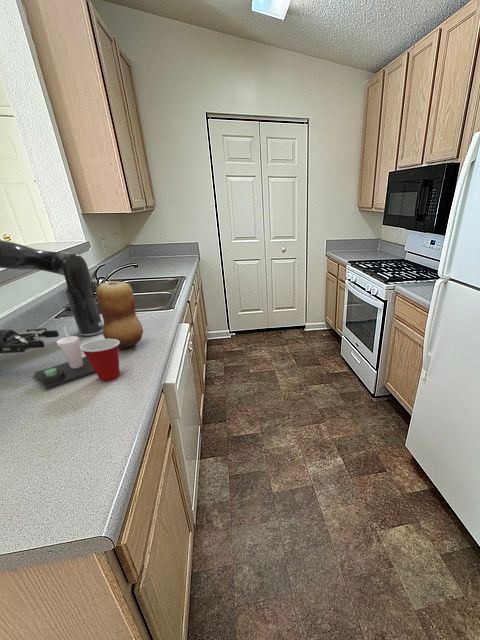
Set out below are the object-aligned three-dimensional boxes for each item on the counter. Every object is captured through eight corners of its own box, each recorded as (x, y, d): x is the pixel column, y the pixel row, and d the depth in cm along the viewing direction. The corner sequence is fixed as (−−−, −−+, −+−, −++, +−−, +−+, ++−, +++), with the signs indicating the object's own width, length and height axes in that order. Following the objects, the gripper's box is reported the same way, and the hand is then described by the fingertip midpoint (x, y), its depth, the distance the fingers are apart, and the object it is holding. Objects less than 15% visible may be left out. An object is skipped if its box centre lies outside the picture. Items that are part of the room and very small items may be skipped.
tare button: (44, 375, 104) (43, 370, 104) (56, 371, 106) (54, 367, 106) (47, 378, 102) (45, 373, 102) (59, 374, 104) (57, 370, 104)
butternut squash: (142, 351, 124) (125, 285, 113) (104, 356, 122) (82, 289, 111) (149, 337, 136) (134, 277, 125) (114, 341, 134) (95, 279, 123)
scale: (35, 375, 110) (32, 367, 108) (88, 358, 120) (86, 351, 119) (47, 390, 101) (43, 381, 100) (103, 370, 112) (100, 363, 110)
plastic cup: (136, 371, 111) (126, 338, 105) (110, 387, 102) (98, 352, 96) (111, 367, 114) (100, 334, 109) (83, 382, 105) (70, 348, 99)
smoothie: (77, 371, 109) (63, 331, 103) (61, 369, 110) (46, 330, 104) (92, 362, 115) (79, 324, 108) (76, 360, 116) (63, 323, 110)
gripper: (-26, 339, 98) (33, 336, 99) (6, 323, 110) (58, 320, 112) (-15, 362, 101) (43, 358, 103) (15, 343, 114) (65, 340, 115)
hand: (50, 338), depth 107 cm, fingers open, 8 cm apart
